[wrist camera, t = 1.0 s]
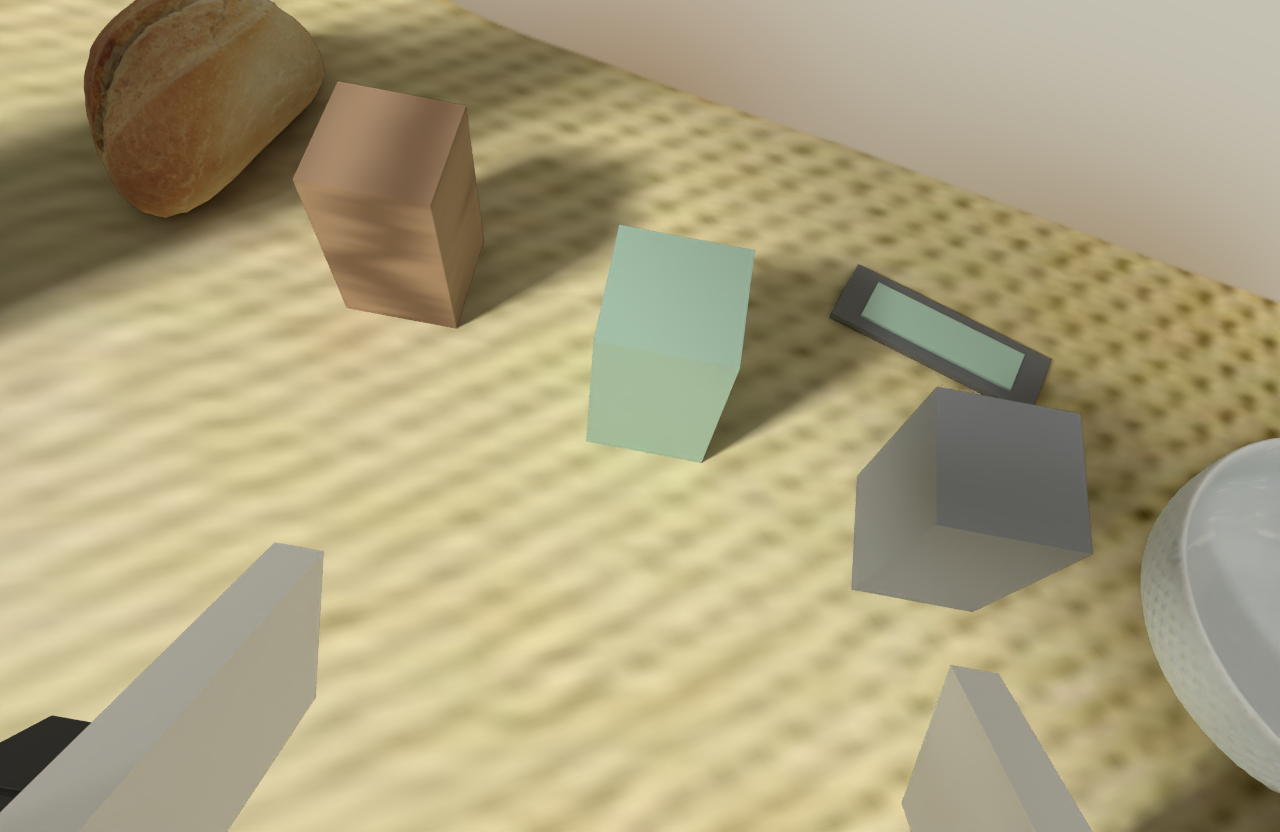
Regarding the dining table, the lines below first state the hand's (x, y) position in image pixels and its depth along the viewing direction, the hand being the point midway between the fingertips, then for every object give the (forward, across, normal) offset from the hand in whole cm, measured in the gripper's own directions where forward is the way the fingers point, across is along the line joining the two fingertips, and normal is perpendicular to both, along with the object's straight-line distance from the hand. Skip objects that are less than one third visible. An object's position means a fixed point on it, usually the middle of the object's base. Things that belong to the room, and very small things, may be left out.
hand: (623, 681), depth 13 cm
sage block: (+30, 0, -5) cm, 31 cm away
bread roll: (+39, -27, +3) cm, 48 cm away
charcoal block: (+27, +14, -9) cm, 32 cm away
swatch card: (+35, +16, 0) cm, 39 cm away
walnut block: (+34, -14, -1) cm, 37 cm away
